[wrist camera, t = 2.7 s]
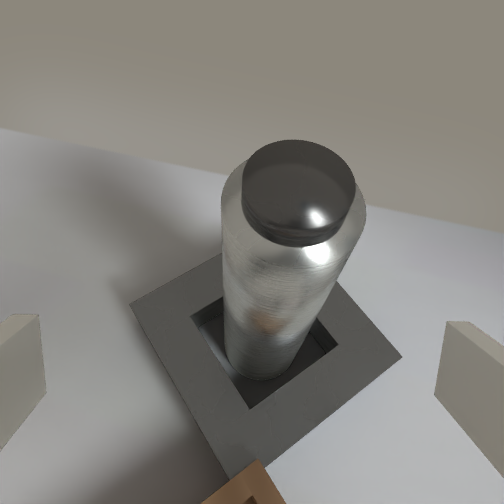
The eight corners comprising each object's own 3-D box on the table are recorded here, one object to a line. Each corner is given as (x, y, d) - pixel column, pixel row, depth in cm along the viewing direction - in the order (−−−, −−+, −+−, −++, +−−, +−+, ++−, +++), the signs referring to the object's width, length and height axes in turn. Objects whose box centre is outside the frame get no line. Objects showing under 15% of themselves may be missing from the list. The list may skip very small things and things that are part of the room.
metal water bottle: (268, 297, 25) (310, 108, 12) (310, 353, 24) (410, 199, 11) (211, 333, 24) (190, 161, 11) (251, 395, 22) (284, 277, 9)
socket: (278, 238, 28) (282, 219, 26) (387, 368, 23) (402, 356, 21) (137, 319, 24) (129, 304, 22) (235, 489, 20) (236, 490, 18)
